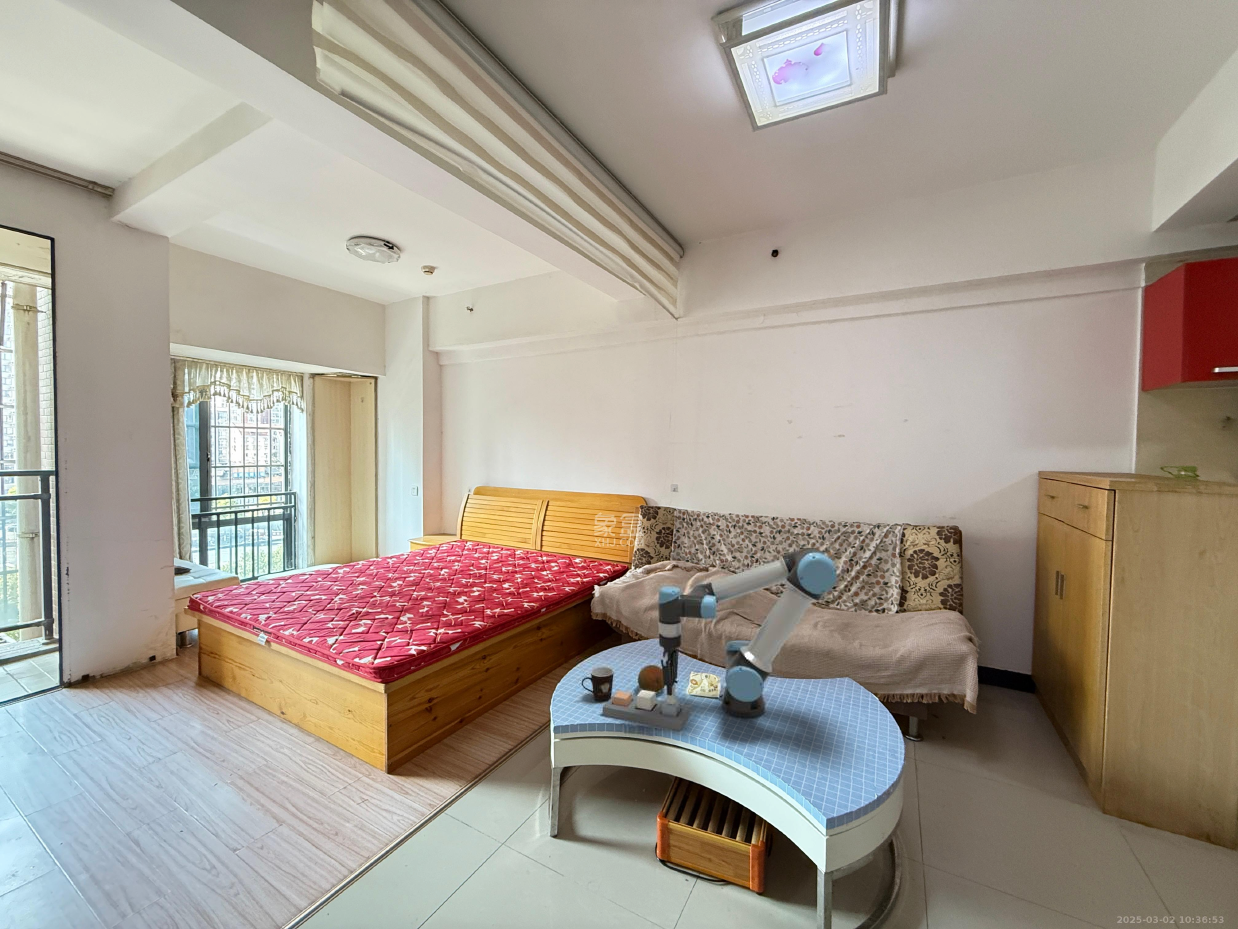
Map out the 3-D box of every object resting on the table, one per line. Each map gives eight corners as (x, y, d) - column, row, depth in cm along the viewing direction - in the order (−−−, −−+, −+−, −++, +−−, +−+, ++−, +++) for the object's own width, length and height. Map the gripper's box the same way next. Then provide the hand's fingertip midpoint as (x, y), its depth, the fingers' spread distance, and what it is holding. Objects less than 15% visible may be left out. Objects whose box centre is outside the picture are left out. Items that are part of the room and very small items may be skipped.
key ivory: (655, 703, 176) (655, 692, 176) (650, 710, 171) (650, 698, 171) (642, 701, 178) (642, 689, 178) (636, 707, 174) (636, 695, 174)
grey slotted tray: (690, 714, 175) (690, 706, 175) (680, 731, 164) (680, 722, 164) (616, 700, 186) (616, 692, 186) (602, 715, 175) (602, 706, 175)
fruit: (644, 701, 185) (644, 674, 185) (630, 687, 197) (629, 662, 197) (672, 694, 190) (672, 668, 190) (656, 681, 201) (656, 656, 201)
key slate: (680, 713, 172) (680, 702, 172) (676, 720, 168) (675, 708, 168) (666, 710, 174) (666, 699, 174) (661, 717, 170) (661, 705, 170)
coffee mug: (615, 693, 192) (614, 667, 192) (612, 704, 183) (612, 676, 183) (585, 692, 193) (584, 666, 193) (581, 703, 184) (580, 675, 184)
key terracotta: (631, 704, 180) (631, 692, 180) (626, 710, 175) (626, 699, 175) (619, 701, 182) (618, 690, 182) (613, 707, 177) (613, 696, 177)
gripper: (665, 626, 179) (666, 693, 179) (652, 638, 167) (653, 709, 167) (686, 629, 176) (687, 696, 176) (674, 641, 164) (675, 714, 164)
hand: (670, 703), depth 171 cm, fingers closed
